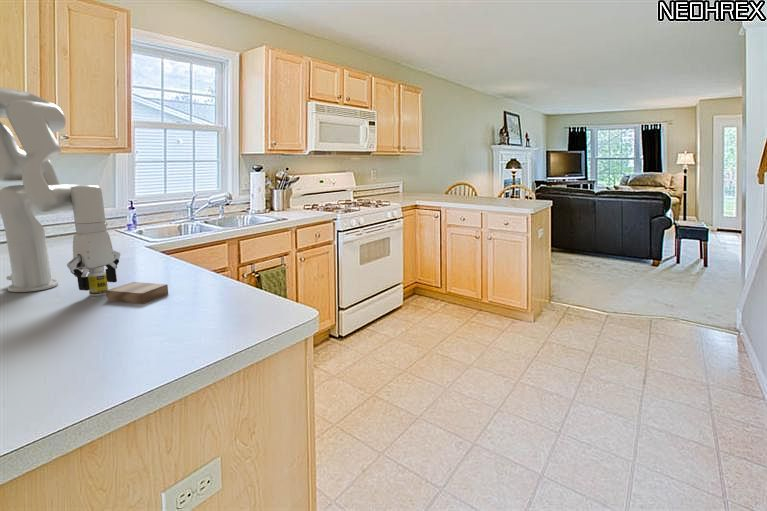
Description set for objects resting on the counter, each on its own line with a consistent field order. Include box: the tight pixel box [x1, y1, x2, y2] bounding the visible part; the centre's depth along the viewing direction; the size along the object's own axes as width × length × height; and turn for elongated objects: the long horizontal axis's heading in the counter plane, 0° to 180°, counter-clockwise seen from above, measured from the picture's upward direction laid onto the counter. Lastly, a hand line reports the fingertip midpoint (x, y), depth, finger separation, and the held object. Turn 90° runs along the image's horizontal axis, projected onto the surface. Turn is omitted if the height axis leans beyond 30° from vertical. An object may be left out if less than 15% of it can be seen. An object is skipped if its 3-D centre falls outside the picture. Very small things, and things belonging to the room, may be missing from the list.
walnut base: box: [106, 281, 169, 305], centre depth 133 cm, size 12×10×3 cm
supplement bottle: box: [86, 266, 109, 297], centre depth 136 cm, size 5×5×8 cm
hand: (98, 285), depth 136 cm, fingers open, 9 cm apart
